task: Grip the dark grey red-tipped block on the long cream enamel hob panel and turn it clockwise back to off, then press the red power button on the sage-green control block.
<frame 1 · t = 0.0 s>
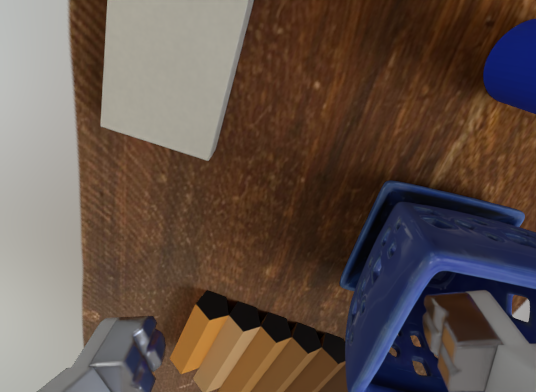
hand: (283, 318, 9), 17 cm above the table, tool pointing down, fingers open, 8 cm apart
pan flute: (262, 381, 40), on the table
flower pot: (414, 238, 28), on the table
hob: (188, 8, 20), on the table
beverage can: (517, 62, 21), on the table
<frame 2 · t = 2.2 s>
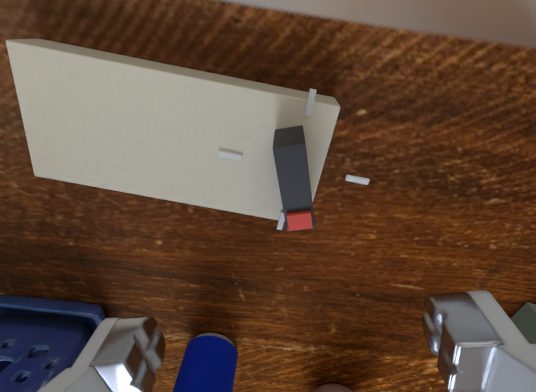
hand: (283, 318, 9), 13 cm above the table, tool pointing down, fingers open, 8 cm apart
apple: (331, 388, 34), on the table
control block: (518, 345, 28), on the table
flower pot: (66, 328, 31), on the table
hob: (186, 131, 20), on the table
dark grey red-tipped block: (294, 179, 17), point 4 cm above the table, hinge at 110.0°
beverage can: (213, 344, 31), on the table
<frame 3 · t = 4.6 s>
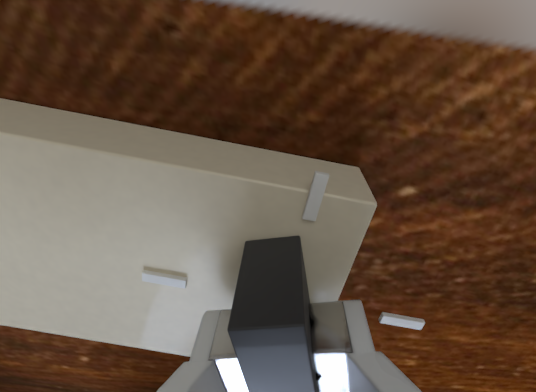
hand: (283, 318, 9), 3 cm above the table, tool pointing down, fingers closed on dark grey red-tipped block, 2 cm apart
hob: (101, 216, 12), on the table
dark grey red-tipped block: (284, 345, 8), point 4 cm above the table, hinge at 110.0°, touching gripper
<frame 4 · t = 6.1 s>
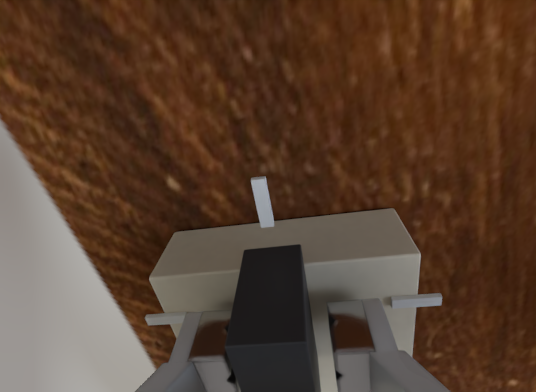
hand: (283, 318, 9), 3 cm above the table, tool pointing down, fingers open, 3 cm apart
hob: (306, 370, 15), on the table
dark grey red-tipped block: (284, 358, 8), point 4 cm above the table, hinge at 0.1°
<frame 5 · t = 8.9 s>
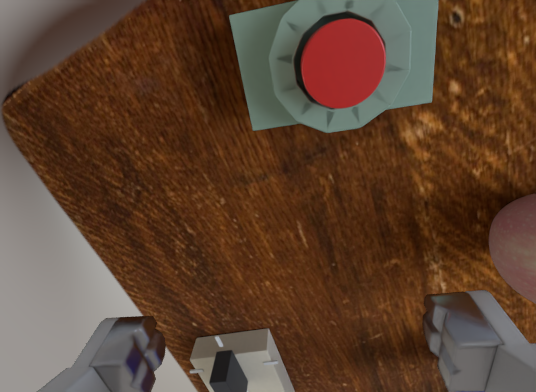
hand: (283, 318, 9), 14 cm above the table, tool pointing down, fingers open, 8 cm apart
apple: (520, 213, 23), on the table
power button: (340, 64, 14), point 5 cm above the table, slide at 0.1 cm
control block: (328, 56, 19), on the table
hob: (257, 383, 35), on the table
dark grey red-tipped block: (229, 383, 29), point 4 cm above the table, hinge at 0.1°
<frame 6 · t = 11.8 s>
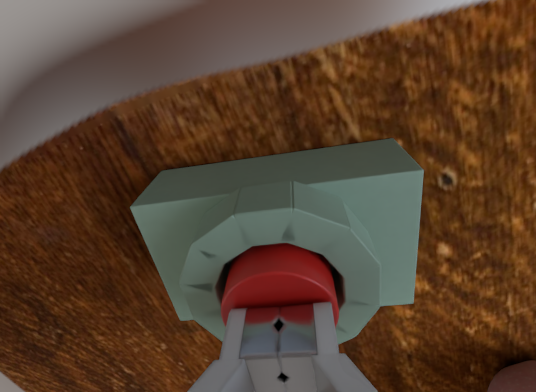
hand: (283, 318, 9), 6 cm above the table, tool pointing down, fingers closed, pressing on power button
apple: (522, 367, 19), on the table
power button: (279, 295, 10), point 5 cm above the table, slide at -0.4 cm, touching gripper
control block: (281, 214, 14), on the table
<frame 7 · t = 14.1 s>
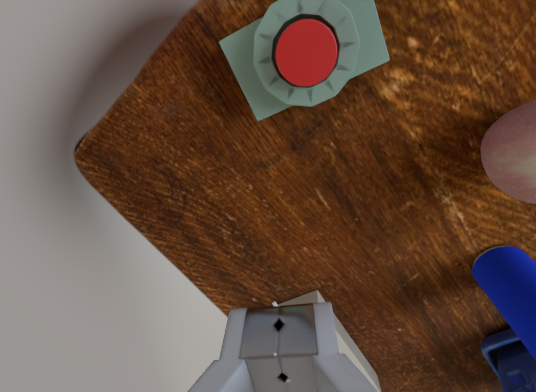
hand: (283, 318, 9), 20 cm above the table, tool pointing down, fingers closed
apple: (509, 132, 26), on the table
power button: (305, 53, 19), point 5 cm above the table, slide at 0.1 cm
control block: (302, 48, 23), on the table
flower pot: (534, 342, 37), on the table
hob: (321, 344, 40), on the table
beverage can: (494, 261, 32), on the table
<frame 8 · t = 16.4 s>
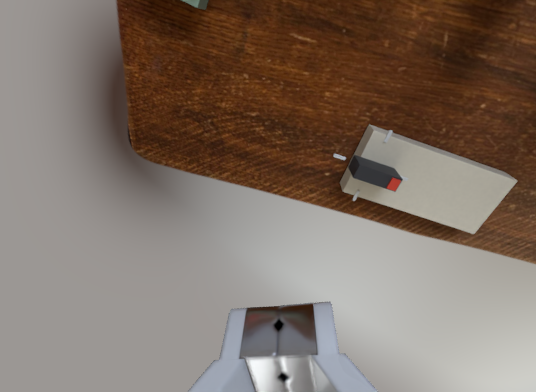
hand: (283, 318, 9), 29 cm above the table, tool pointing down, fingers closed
hob: (419, 177, 38), on the table
dark grey red-tipped block: (374, 173, 34), point 4 cm above the table, hinge at 0.1°
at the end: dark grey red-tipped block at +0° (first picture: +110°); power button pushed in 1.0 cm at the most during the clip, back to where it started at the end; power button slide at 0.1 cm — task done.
